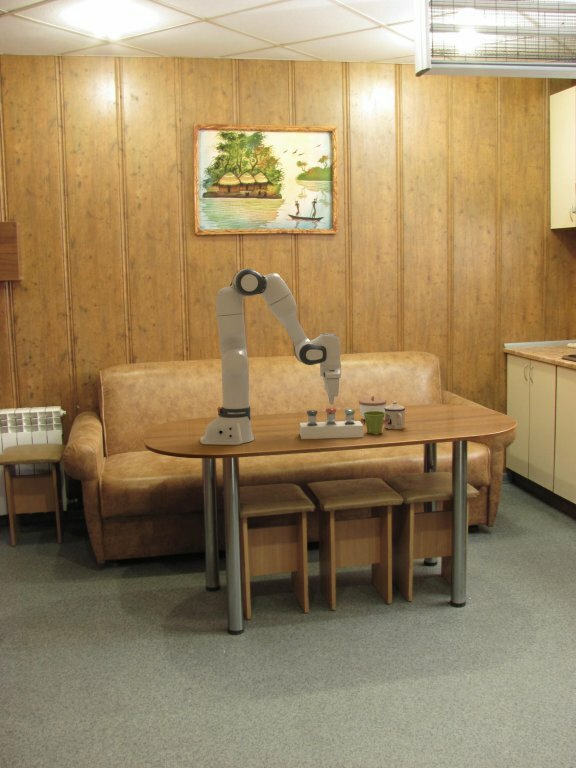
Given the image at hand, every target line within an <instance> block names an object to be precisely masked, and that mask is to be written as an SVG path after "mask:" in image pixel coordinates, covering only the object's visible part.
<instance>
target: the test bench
mask: <svg viewBox="0 0 576 768" xmlns="http://www.w3.org/2000/svg"><path fill="white" fill-rule="evenodd" d="M299 436H300V439H301V440H316V439H317V440H319V439H320V440H321V439H349V438H364V425H363V424H362V422H361V421H360V420H354V424H353V425H346V421H343V420H341V421H335V424H327V421H317V426H308V421H307V422H299Z"/></svg>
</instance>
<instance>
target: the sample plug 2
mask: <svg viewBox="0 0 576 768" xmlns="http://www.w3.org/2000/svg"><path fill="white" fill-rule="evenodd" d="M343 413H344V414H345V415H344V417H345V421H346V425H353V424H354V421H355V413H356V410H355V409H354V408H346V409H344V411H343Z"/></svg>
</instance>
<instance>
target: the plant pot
mask: <svg viewBox="0 0 576 768" xmlns="http://www.w3.org/2000/svg"><path fill="white" fill-rule="evenodd" d="M363 414H364V417H365V419H364V420H365V427H366V431H367V434H373V435H379V434H381V433H382V430H383V422H384V419H385V412H381V411H369V412H364V413H363Z"/></svg>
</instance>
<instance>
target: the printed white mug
mask: <svg viewBox="0 0 576 768" xmlns="http://www.w3.org/2000/svg"><path fill="white" fill-rule="evenodd" d="M384 409H385V415H384V428H385V429H387V428H388V430H401V429H402V428H403V429H404V428H405V415H406V414H405V412H406V411H405V410H406V408H405V406H402V405H400V404H399V403H398V401H392V403H391V404H389V405H386V407H385V408H384Z"/></svg>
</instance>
